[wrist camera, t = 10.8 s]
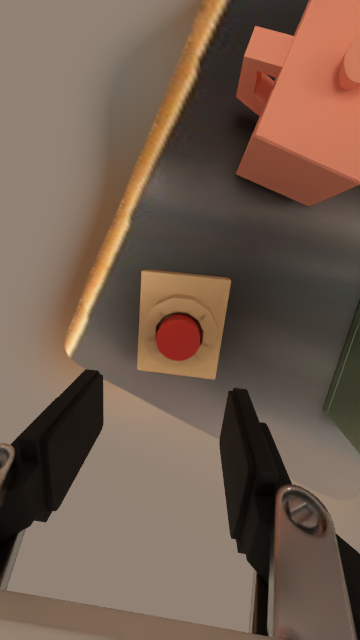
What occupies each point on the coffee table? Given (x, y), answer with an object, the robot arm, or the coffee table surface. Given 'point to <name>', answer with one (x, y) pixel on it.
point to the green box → (347, 388)
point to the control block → (187, 299)
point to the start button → (178, 337)
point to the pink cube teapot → (305, 104)
